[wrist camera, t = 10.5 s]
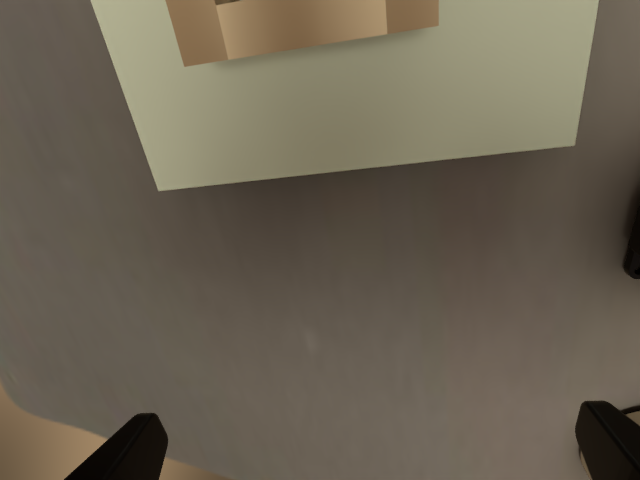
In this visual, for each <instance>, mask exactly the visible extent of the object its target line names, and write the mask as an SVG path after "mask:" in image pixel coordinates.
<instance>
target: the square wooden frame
mask: <svg viewBox="0 0 640 480" xmlns="http://www.w3.org/2000/svg"><path fill="white" fill-rule="evenodd" d="M165 1H166V4H167V8H168V11H169V15H170V18H171V22H172V25H173V29H174V33H175V36H176V40H177V43H178V47H179V50H180V54H181V57H182V61H183V64H184V67H187V66H193V65H199V64H206V63H212V62H218V61H224V60H230V59H237V58H243V57H249V56H255V55H261V54H268V53H274V52H280V51H286V50H292V49H298V48H305V47H311V46H317V45H323V44H329V43H336V42H342V41H348V40H354V39H360V38H367V37H373V36H379V35H385V34H391V33H398V32H404V31H410V30H416V29H422V28H429V27H435V26H439V0H242V1H240V0H165Z"/></svg>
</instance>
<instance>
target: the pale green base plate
mask: <svg viewBox="0 0 640 480" xmlns="http://www.w3.org/2000/svg"><path fill="white" fill-rule="evenodd" d="M240 1H242V0H240ZM91 3H92V5H93V8H94V11H95V14H96V17H97V19H98V22H99V25H100V28H101V31H102V33H103V36H104V39H105V42H106V45H107V48H108V50H109V53H110V56H111V59H112V62H113V64H114V67H115V70H116V73H117V76H118V78H119V81H120V84H121V87H122V90H123V93H124V95H125V98H126V101H127V104H128V107H129V109H130V112H131V115H132V118H133V121H134V124H135V126H136V129H137V132H138V135H139V138H140V140H141V143H142V146H143V149H144V152H145V154H146V157H147V160H148V163H149V166H150V169H151V171H152V174H153V177H154V180H155V183H156V185H157V188H158V191H164V190H173V189H182V188H191V187H201V186H210V185H219V184H228V183H237V182H246V181H255V180H265V179H274V178H283V177H292V176H301V175H310V174H319V173H329V172H338V171H347V170H356V169H365V168H374V167H383V166H392V165H402V164H411V163H420V162H429V161H438V160H447V159H456V158H466V157H475V156H484V155H493V154H502V153H511V152H520V151H530V150H539V149H548V148H557V147H566V146H575V141H576V135H577V129H578V123H579V117H580V111H581V105H582V99H583V93H584V87H585V81H586V75H587V69H588V63H589V57H590V51H591V46H592V40H593V34H594V28H595V22H596V16H597V10H598V4H599V0H439V26H435V27H429V28H422V29H416V30H410V31H404V32H398V33H391V34H385V35H379V36H373V37H367V38H360V39H354V40H348V41H342V42H336V43H329V44H323V45H317V46H311V47H305V48H298V49H292V50H286V51H280V52H274V53H268V54H261V55H255V56H249V57H243V58H237V59H230V60H224V61H218V62H212V63H206V64H199V65H193V66H187V67H184V64H183V61H182V57H181V54H180V50H179V47H178V43H177V40H176V36H175V33H174V29H173V25H172V22H171V18H170V15H169V11H168V8H167V4H166V1H165V0H91Z"/></svg>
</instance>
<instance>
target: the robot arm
mask: <svg viewBox="0 0 640 480" xmlns="http://www.w3.org/2000/svg"><path fill="white" fill-rule="evenodd" d="M639 266H640V204H639V207H638V211H637V215H636V219H635V222H634V226H633V230H632V234H631V238H630V241H629V250H628V254H627V257H626V261H625V265H624V271H625V272H626V273H627V274H628V275H629V276H630V277H632V278H634V279H640V268H639V269H637V270H635V269H636V268H637V267H639ZM575 433H576V438H577V441H578V444H579V447H580V449H581V452H582V455H583V457H584V460H585V462H586V465H587V468H588V470H589V473H590V476H591V478H592V480H640V426H639V425H638V424H637V423H636V422H634V421H633V420H632V419H630V418H629V417H628V416H626V415H625V414H624V413H622V412H621V411H620V410H618V409H617V408H616V407H614V406H613V405H612V404H610V403H608V402H606V401H584V402H583V403H582V404H581V407H580V411H579V415H578V418H577V422H576V426H575ZM167 446H168V436H167V433H166V431H165V429H164V427H163V425H162V423H161V421H160V419H159V417H158V416H157V415H156V414H155V413H140V414H137V415H135V416H134V417H133V418H131V419H130V420H129V421H128V422H127V423H126V424H125V425H124V426H123V427H121V428H120V429H119V430H118V431H117V432H116V433H115V434H114V435H113V436H112V437H110V438H109V439H108V440H107V441H106V442H105V443H104V444H103V445H102V446H101V447H99V448H98V449H97V450H96V451H95V452H94V453H93V454H92V455H91V456H89V457H88V458H87V459H86V460H85V461H84V462H83V463H82V464H81V465H79V466H78V467H77V468H76V469H75V470H74V471H73V472H72V473H71V474H70V475H68V476H67V477H66V478H65V479H64V480H159V477H160V473H161V469H162V465H163V461H164V458H165V454H166V450H167Z"/></svg>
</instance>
